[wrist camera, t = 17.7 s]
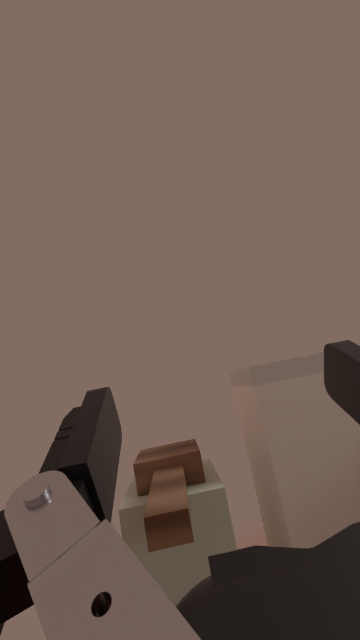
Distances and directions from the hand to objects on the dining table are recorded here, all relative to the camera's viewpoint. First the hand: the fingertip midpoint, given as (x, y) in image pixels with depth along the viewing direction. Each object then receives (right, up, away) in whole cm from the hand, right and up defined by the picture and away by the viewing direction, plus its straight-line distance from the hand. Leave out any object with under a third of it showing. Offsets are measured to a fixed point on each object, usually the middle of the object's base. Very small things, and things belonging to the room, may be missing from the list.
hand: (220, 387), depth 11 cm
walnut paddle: (-2, -14, +17) cm, 22 cm away
